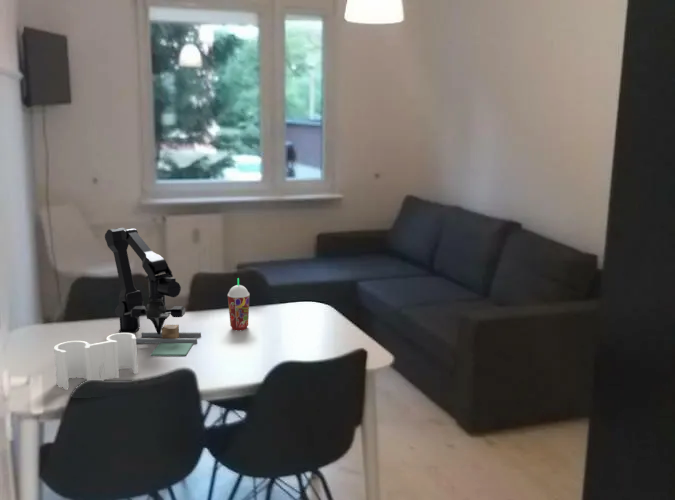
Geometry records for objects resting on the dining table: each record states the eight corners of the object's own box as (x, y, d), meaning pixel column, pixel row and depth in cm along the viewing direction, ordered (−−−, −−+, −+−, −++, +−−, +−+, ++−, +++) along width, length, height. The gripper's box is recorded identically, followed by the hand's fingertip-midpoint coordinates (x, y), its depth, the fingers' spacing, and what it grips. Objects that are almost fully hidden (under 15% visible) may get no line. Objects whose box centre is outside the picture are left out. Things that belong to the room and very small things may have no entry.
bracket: (130, 365, 247) (128, 330, 245) (141, 374, 239) (139, 338, 237) (52, 381, 233) (50, 344, 231) (61, 391, 225) (58, 352, 223)
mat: (151, 355, 256) (151, 354, 256) (159, 344, 268) (159, 343, 268) (185, 356, 256) (185, 354, 256) (192, 344, 268) (192, 343, 268)
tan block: (162, 341, 271) (161, 328, 270) (165, 337, 276) (165, 324, 275) (176, 341, 271) (175, 328, 270) (179, 337, 276) (178, 324, 275)
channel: (136, 343, 270) (135, 339, 270) (142, 336, 278) (142, 332, 278) (196, 343, 270) (196, 339, 269) (201, 336, 278) (200, 332, 278)
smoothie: (248, 331, 283) (247, 280, 279) (226, 331, 283) (225, 280, 280) (251, 325, 291) (250, 275, 288) (230, 325, 292) (229, 275, 288)
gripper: (125, 298, 263) (127, 340, 266) (177, 298, 262) (179, 341, 265) (134, 290, 274) (136, 331, 277) (184, 290, 273) (186, 331, 276)
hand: (159, 334), depth 273 cm, fingers closed
